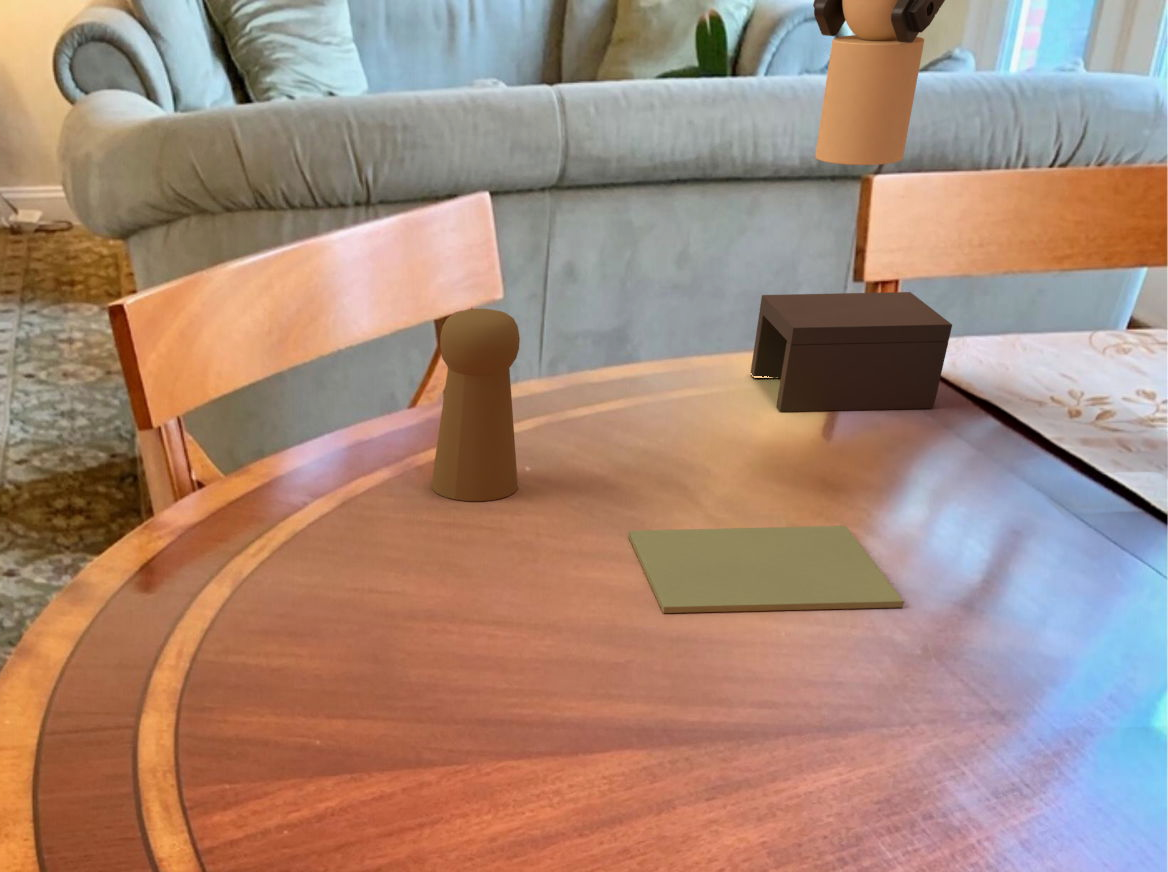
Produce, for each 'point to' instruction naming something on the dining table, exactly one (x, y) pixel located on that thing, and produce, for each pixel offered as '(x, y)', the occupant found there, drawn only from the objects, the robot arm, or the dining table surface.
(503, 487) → the brown pepper mill
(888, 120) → the toy bear
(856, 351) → the brown u-shaped bridge
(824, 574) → the mat
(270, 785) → the dining table surface
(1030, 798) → the dining table surface
